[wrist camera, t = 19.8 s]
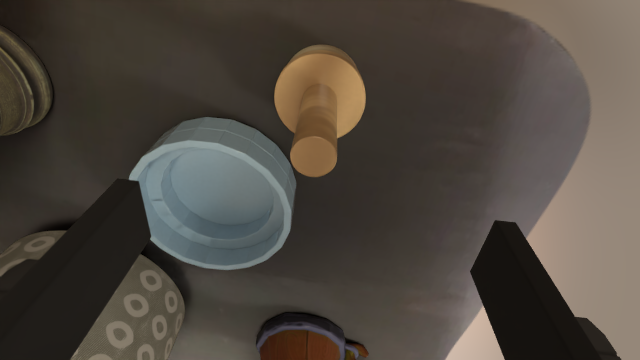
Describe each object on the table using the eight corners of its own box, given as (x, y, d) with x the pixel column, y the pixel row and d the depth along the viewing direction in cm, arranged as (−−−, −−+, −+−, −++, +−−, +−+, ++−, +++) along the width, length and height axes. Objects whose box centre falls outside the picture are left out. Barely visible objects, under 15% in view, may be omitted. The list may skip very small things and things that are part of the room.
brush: (369, 46, 26) (388, 104, 16) (355, 126, 29) (365, 212, 20) (282, 36, 26) (249, 90, 16) (279, 117, 29) (251, 201, 20)
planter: (22, 295, 44) (-145, 480, 28) (25, 182, 34) (-225, 372, 19) (173, 339, 48) (97, 522, 33) (214, 251, 38) (134, 451, 23)
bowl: (301, 122, 29) (295, 151, 25) (292, 238, 37) (287, 276, 32) (142, 105, 29) (109, 131, 25) (165, 226, 36) (143, 262, 32)
